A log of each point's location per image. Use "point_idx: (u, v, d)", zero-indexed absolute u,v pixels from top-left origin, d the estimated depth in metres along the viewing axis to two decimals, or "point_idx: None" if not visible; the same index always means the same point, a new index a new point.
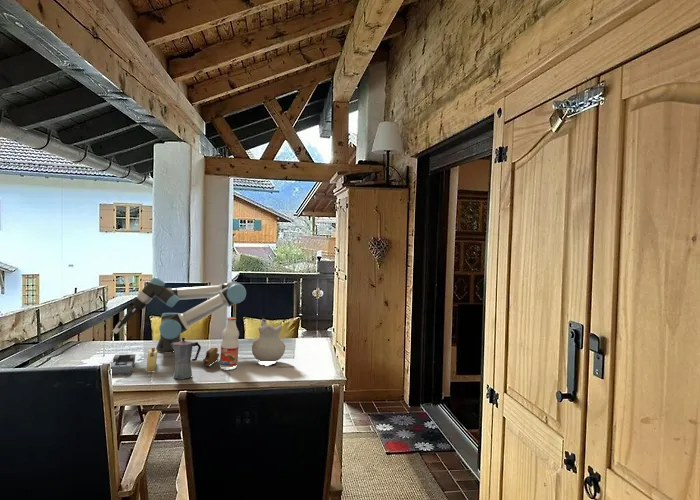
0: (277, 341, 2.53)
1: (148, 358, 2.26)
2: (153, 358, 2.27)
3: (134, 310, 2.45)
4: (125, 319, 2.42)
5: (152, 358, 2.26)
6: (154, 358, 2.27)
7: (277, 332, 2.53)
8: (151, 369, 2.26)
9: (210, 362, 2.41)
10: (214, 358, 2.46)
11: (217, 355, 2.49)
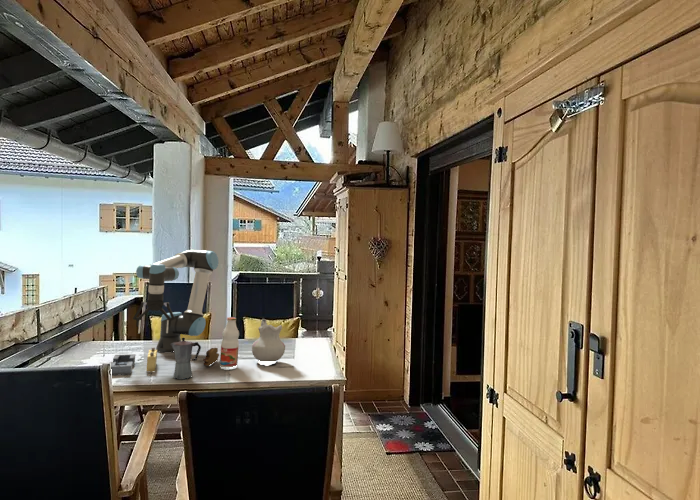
0: (277, 341, 2.53)
1: (148, 358, 2.26)
2: (153, 358, 2.27)
3: None
4: (173, 315, 2.36)
5: (152, 358, 2.26)
6: (154, 358, 2.27)
7: (277, 332, 2.53)
8: (151, 369, 2.26)
9: (210, 362, 2.41)
10: (214, 358, 2.46)
11: (217, 355, 2.49)
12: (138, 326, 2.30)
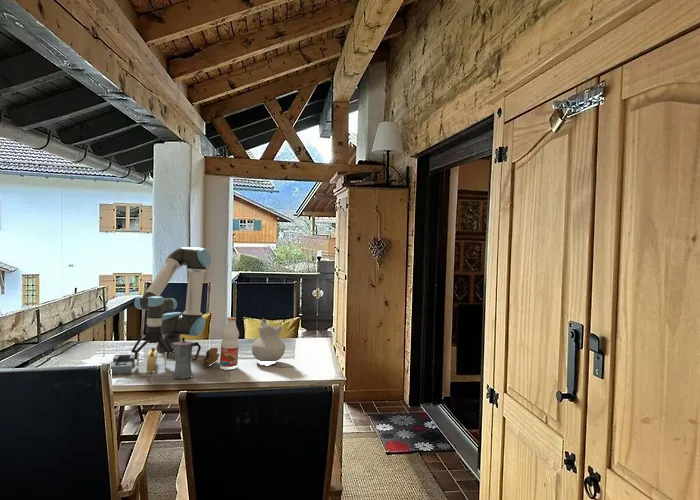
0: (277, 341, 2.53)
1: (148, 358, 2.26)
2: (153, 358, 2.27)
3: (167, 335, 2.36)
4: (171, 347, 2.36)
5: (152, 358, 2.26)
6: (154, 358, 2.27)
7: (277, 332, 2.53)
8: (151, 369, 2.26)
9: (210, 362, 2.41)
10: (214, 358, 2.46)
11: (217, 355, 2.49)
12: (136, 359, 2.30)
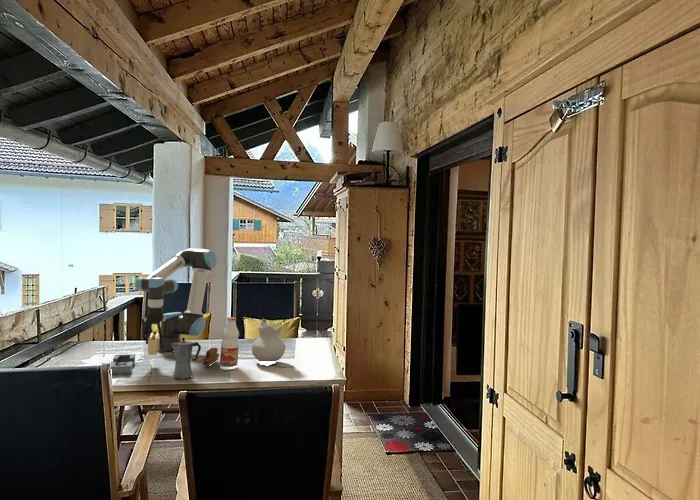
0: (277, 341, 2.53)
1: (150, 341, 2.26)
2: (155, 341, 2.27)
3: (167, 320, 2.36)
4: (165, 332, 2.35)
5: (154, 341, 2.27)
6: (156, 341, 2.27)
7: (277, 332, 2.53)
8: (153, 352, 2.27)
9: (210, 362, 2.41)
10: (214, 358, 2.46)
11: (217, 355, 2.49)
12: None
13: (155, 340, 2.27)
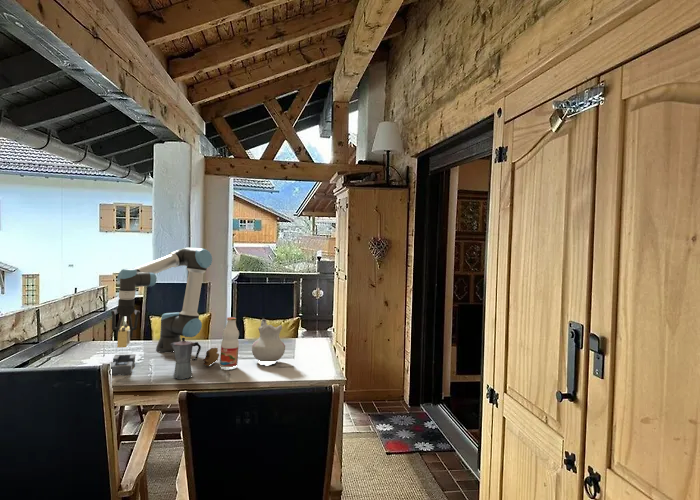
0: (277, 341, 2.53)
1: (119, 333, 2.20)
2: (124, 333, 2.21)
3: (139, 312, 2.30)
4: (136, 325, 2.30)
5: (123, 333, 2.21)
6: (125, 333, 2.21)
7: (277, 332, 2.53)
8: (122, 344, 2.21)
9: (210, 362, 2.41)
10: (214, 358, 2.46)
11: (217, 355, 2.49)
12: (117, 336, 2.26)
13: (125, 332, 2.21)
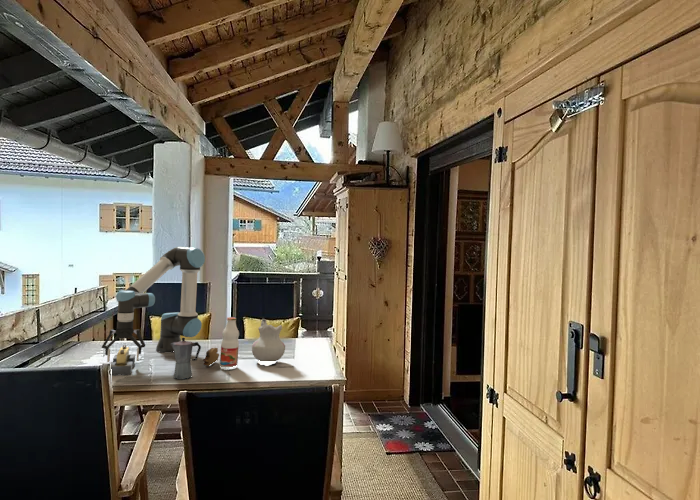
0: (277, 341, 2.53)
1: (118, 356, 2.20)
2: (123, 356, 2.21)
3: (139, 331, 2.31)
4: (143, 342, 2.31)
5: (122, 356, 2.21)
6: (124, 356, 2.21)
7: (277, 332, 2.53)
8: None
9: (210, 362, 2.41)
10: (214, 358, 2.46)
11: (217, 355, 2.49)
12: None
13: (123, 355, 2.21)
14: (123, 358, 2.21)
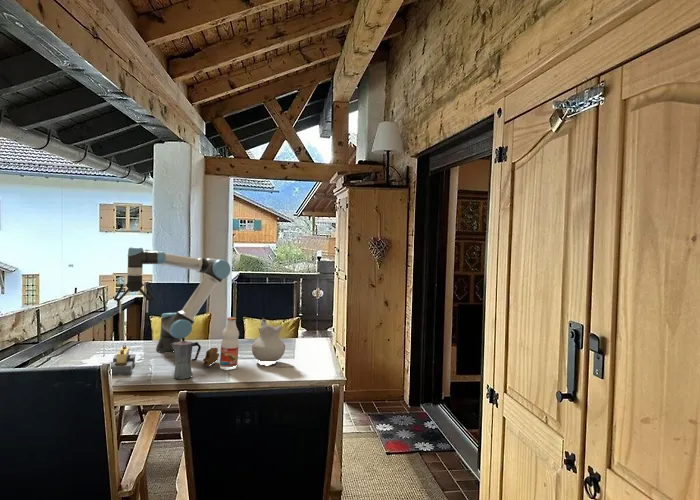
0: (277, 341, 2.53)
1: (118, 356, 2.20)
2: (123, 356, 2.21)
3: None
4: (152, 295, 2.48)
5: (122, 356, 2.21)
6: (124, 356, 2.21)
7: (277, 332, 2.53)
8: None
9: (210, 362, 2.41)
10: (214, 358, 2.46)
11: (217, 355, 2.49)
12: (119, 306, 2.41)
13: (123, 355, 2.21)
14: (123, 358, 2.21)
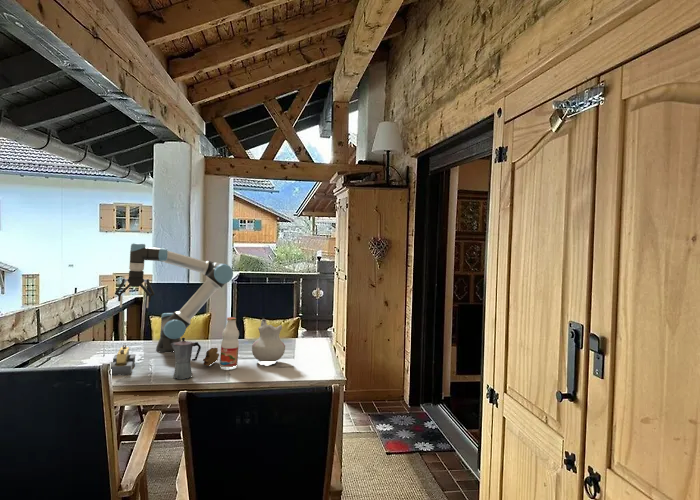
0: (277, 341, 2.53)
1: (118, 356, 2.20)
2: (123, 356, 2.21)
3: None
4: (153, 291, 2.52)
5: (122, 356, 2.21)
6: (124, 356, 2.21)
7: (277, 332, 2.53)
8: None
9: (210, 362, 2.41)
10: (214, 358, 2.46)
11: (217, 355, 2.49)
12: (120, 301, 2.46)
13: (123, 355, 2.21)
14: (123, 358, 2.21)
